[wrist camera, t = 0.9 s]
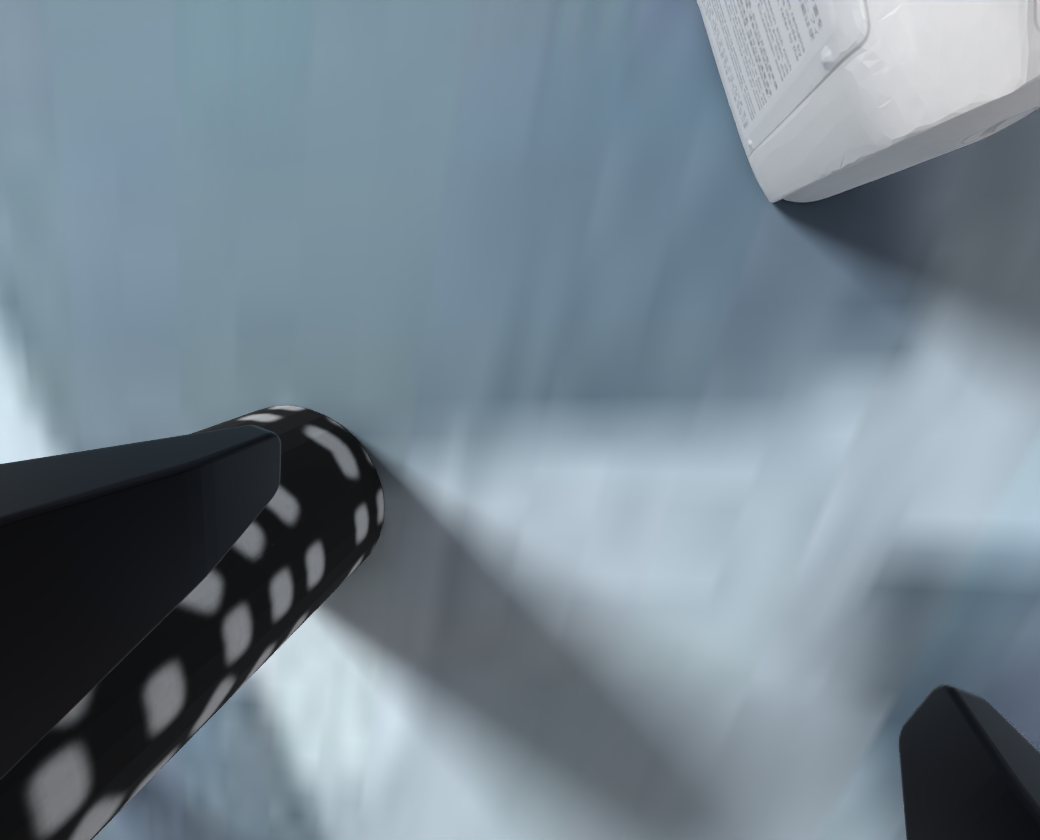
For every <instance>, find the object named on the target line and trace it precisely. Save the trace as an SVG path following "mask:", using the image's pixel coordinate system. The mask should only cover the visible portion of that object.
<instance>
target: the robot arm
mask: <svg viewBox="0 0 1040 840" xmlns="http://www.w3.org/2000/svg"><path fill="white" fill-rule="evenodd" d="M280 470H281V441H280V438H279V436H278V435H277V434H276V433H274V432H272V431H269V430H266V429H264V428H261V427H258V426H255V425H246V426H239V427H233V428H227V429H220V430H214V431H208V432H201V433H195V434H189V435H182V436H176V437H170V438H163V439H157V440H151V441H144V442H138V443H132V444H125V445H119V446H113V447H106V448H100V449H94V450H87V451H81V452H75V453H68V454H62V455H56V456H49V457H43V458H37V459H30V460H24V461H18V462H11V463H5V464H0V780H1V779H2V778H3V777H4V776H5V775H6V774H7V773H8V772H9V771H10V770H11V769H12V768H13V767H14V766H15V765H16V764H17V763H18V762H19V761H20V760H21V759H22V758H23V757H24V756H25V755H26V754H27V753H28V752H29V751H30V750H31V749H32V748H33V747H34V746H35V745H36V744H37V743H38V742H39V741H40V740H41V739H42V738H43V737H44V736H45V735H46V734H47V733H49V732H50V731H51V730H52V729H53V728H54V727H55V726H56V725H57V724H58V723H59V722H60V721H61V720H62V719H63V718H64V717H65V716H66V715H67V714H68V713H69V712H70V711H71V710H72V709H73V708H74V707H75V706H76V705H77V704H78V703H79V702H80V701H81V700H82V699H83V698H84V697H85V696H86V695H87V694H88V693H89V692H90V691H91V690H92V689H93V688H94V687H95V686H96V685H97V684H98V683H99V682H100V681H101V680H102V679H103V678H104V677H105V676H106V675H107V674H109V673H110V672H111V671H112V670H113V669H114V668H115V667H116V666H117V665H118V664H119V663H120V662H121V661H122V660H123V659H124V658H125V657H126V656H127V655H128V654H129V653H130V652H131V651H132V650H133V649H134V648H135V647H136V646H137V645H138V644H139V643H140V642H141V641H142V640H143V639H144V638H145V637H146V636H147V635H148V634H149V633H150V632H151V631H152V630H153V629H154V628H155V627H156V626H157V625H158V624H159V623H160V622H161V621H162V620H163V619H164V618H165V617H166V616H168V615H169V614H170V613H171V612H172V611H173V610H174V609H175V608H176V607H177V606H178V605H179V604H180V603H181V602H182V601H183V600H184V599H185V598H186V597H187V596H188V595H189V594H190V593H191V592H192V591H193V590H194V589H195V588H196V587H197V586H198V585H199V584H200V583H201V582H202V581H203V580H204V579H205V578H206V577H207V575H208V574H209V573H210V572H211V571H212V570H213V569H214V568H215V566H216V565H217V564H218V563H219V562H220V561H221V559H222V558H223V557H224V556H225V555H226V553H227V552H228V551H229V550H230V549H231V547H232V546H233V545H234V544H235V543H236V541H237V540H238V539H239V538H240V537H241V535H242V534H243V533H244V532H245V531H246V529H247V528H248V527H249V526H250V525H251V523H252V522H253V521H254V520H255V519H256V517H257V516H258V515H259V514H260V513H261V511H262V510H263V509H264V508H265V507H266V505H267V504H268V503H269V502H270V501H271V499H272V498H273V497H274V495H275V494H276V492H277V490H278V487H279V484H280ZM899 753H900V765H901V777H902V789H903V801H904V813H905V825H906V837H907V840H1040V753H1039V752H1038V751H1037V750H1036V749H1035V748H1034V747H1033V746H1032V745H1031V744H1030V743H1029V742H1028V741H1027V740H1026V739H1025V738H1024V737H1023V736H1022V735H1021V734H1020V733H1019V732H1018V731H1017V730H1016V729H1015V728H1014V727H1013V726H1012V725H1011V724H1010V723H1009V722H1008V721H1007V720H1006V719H1005V718H1004V717H1003V716H1002V715H1001V714H1000V713H999V712H998V711H997V710H996V709H994V708H993V707H992V706H991V705H990V704H989V703H988V702H987V701H986V700H985V699H983V698H982V697H980V696H978V695H975V694H973V693H970V692H967V691H965V690H962V689H959V688H957V687H954V686H951V685H939V686H937V687H935V688H934V689H933V690H932V691H931V692H930V694H929V695H928V696H927V697H926V698H925V699H924V701H923V702H922V703H921V704H920V705H919V707H918V708H917V709H916V710H915V711H914V713H913V714H912V715H911V716H910V717H909V719H908V720H907V721H906V722H905V724H904V725H903V727H902V730H901V733H900V737H899Z"/></svg>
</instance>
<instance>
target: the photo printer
mask: <svg viewBox="0 0 1040 840" xmlns="http://www.w3.org/2000/svg"><path fill="white" fill-rule="evenodd" d="M697 3H698V6H699V8H700V11H701V14H702V18H703V21H704V25H705V28H706V31H707V34H708V37H709V41H710V44H711V47H712V51H713V54H714V57H715V61H716V64H717V67H718V71H719V74H720V77H721V80H722V83H723V86H724V89H725V92H726V95H727V99H728V102H729V106H730V108H731V111H732V114H733V117H734V120H735V123H736V126H737V129H738V132H739V135H740V138H741V141H742V144H743V146H744V149H745V152H746V155H747V157H748V160H749V163H750V165H751V168H752V170H753V172H754V175H755V177H756V179H757V181H758V183H759V185H760V187H761V188H762V190H763V192H764V194H765V195H766V197H767V199H768V200H769V201H770V202H771V203H774V202H777V201H779V200H781V199H784V200H786V201H792V202H813V201H818V200H822V199H825V198H828V197H831V196H834V195H836V194H839V193H842V192H844V191H847V190H850V189H852V188H855V187H858V186H860V185H863V184H866V183H869V182H872V181H874V180H877V179H880V178H882V177H885V176H888V175H890V174H893V173H896V172H899V171H901V170H904V169H906V168H909V167H912V166H914V165H917V164H920V163H922V162H925V161H927V160H930V159H933V158H935V157H938V156H941V155H943V154H946V153H949V152H951V151H954V150H957V149H959V148H962V147H964V146H967V145H970V144H972V143H975V142H977V141H980V140H982V139H984V138H986V137H988V136H990V135H993V134H994V133H996V132H998V131H1000V130H1002V129H1004V128H1006V127H1008V126H1010V125H1012V124H1013V123H1015V122H1017V121H1019V120H1021V119H1022V118H1024V117H1025V116H1027V115H1029V114H1030V113H1032V112H1034V111H1035V110H1037V109H1038V108H1040V0H697Z"/></svg>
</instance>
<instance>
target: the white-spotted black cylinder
mask: <svg viewBox="0 0 1040 840" xmlns="http://www.w3.org/2000/svg"><path fill="white" fill-rule="evenodd" d="M246 425H255V426H258V427H261V428H264V429H266V430H269V431H272V432H274V433H276V434H277V435H278V436H279V438H280V441H281V470H280V484H279V487H278V490H277V492H276V494H275V495H274V497H273V498H272V499H271V501H270V502H269V503H268V504H267V505H266V507H265V508H264V509H263V510H262V511H261V513H260V514H259V515H258V516H257V517H256V519H255V520H254V521H253V522H252V523H251V525H250V526H249V527H248V528H247V529H246V531H245V532H244V533H243V534H242V535H241V537H240V538H239V539H238V540H237V541H236V543H235V544H234V545H233V546H232V547H231V549H230V550H229V551H228V552H227V553H226V555H225V556H224V557H223V558H222V559H221V561H220V562H219V563H218V564H217V565H216V566H215V568H214V569H213V570H212V571H211V572H210V573H209V574H208V575H207V577H206V578H205V579H204V580H203V581H202V582H201V583H200V584H199V585H198V586H197V587H196V588H195V589H194V590H193V591H192V592H191V593H190V594H189V595H188V596H187V597H186V598H185V599H184V600H183V601H182V602H181V603H180V604H179V605H178V606H177V607H176V608H175V609H174V610H173V611H172V612H171V613H170V614H169V615H168V616H166V617H165V618H164V619H163V620H162V621H161V622H160V623H159V624H158V625H157V626H156V627H155V628H154V629H153V630H152V631H151V632H150V633H149V634H148V635H147V636H146V637H145V638H144V639H143V640H142V641H141V642H140V643H139V644H138V645H137V646H136V647H135V648H134V649H133V650H132V651H131V652H130V653H129V654H128V655H127V656H126V657H125V658H124V659H123V660H122V661H121V662H120V663H119V664H118V665H117V666H116V667H115V668H114V669H113V670H112V671H111V672H110V673H109V674H107V675H106V676H105V677H104V678H103V679H102V680H101V681H100V682H99V683H98V684H97V685H96V686H95V687H94V688H93V689H92V690H91V691H90V692H89V693H88V694H87V695H86V696H85V697H84V698H83V699H82V700H81V701H80V702H79V703H78V704H77V705H76V706H75V707H74V708H73V709H72V710H71V711H70V712H69V713H68V714H67V715H66V716H65V717H64V718H63V719H62V720H61V721H60V722H59V723H58V724H57V725H56V726H55V727H54V728H53V729H52V730H51V731H50V732H49V733H47V734H46V735H45V736H44V737H43V738H42V739H41V740H40V741H39V742H38V743H37V744H36V745H35V746H34V747H33V748H32V749H31V750H30V751H29V752H28V753H27V754H26V755H25V756H24V757H23V758H22V759H21V760H20V761H19V762H18V763H17V764H16V765H15V766H14V767H13V768H12V769H11V770H10V771H9V772H8V773H7V774H6V775H5V776H4V777H3V778H2V779H1V780H0V840H92V839H93V838H94V837H95V836H96V835H97V834H98V833H99V832H100V831H101V830H102V829H103V828H104V827H105V826H106V825H107V824H108V823H109V822H110V821H111V819H112V818H113V817H114V816H115V815H116V814H117V813H118V812H119V811H120V810H121V809H122V808H123V807H124V806H125V805H126V804H127V803H128V802H129V801H130V800H131V799H132V798H133V797H134V796H135V795H136V794H137V793H138V792H139V791H140V790H141V789H142V788H143V787H144V786H145V785H146V784H147V783H148V782H149V781H150V779H151V778H152V777H153V776H154V775H155V774H156V773H157V772H158V771H159V770H160V769H161V768H162V767H163V766H164V765H165V764H166V763H167V762H168V761H169V760H170V759H171V758H172V757H173V756H174V755H175V754H176V753H177V752H178V751H179V750H180V749H181V748H182V747H183V746H184V745H185V744H186V743H187V742H188V741H189V739H190V738H191V737H192V736H193V735H194V734H195V733H196V732H197V731H198V730H199V729H200V728H201V727H202V726H203V725H204V724H205V723H206V722H207V721H208V720H209V719H210V718H211V717H212V716H213V715H214V714H215V713H216V712H217V711H218V710H219V709H220V708H221V707H222V706H223V705H224V704H225V703H226V702H227V701H228V699H229V698H230V697H231V696H232V695H233V694H234V693H235V692H236V691H237V690H238V689H239V688H240V687H241V686H242V685H243V684H244V683H245V682H246V681H247V680H248V679H249V678H250V677H251V676H252V675H253V674H254V673H255V672H256V671H257V670H258V669H259V668H260V667H261V666H262V665H263V664H264V663H265V662H266V661H267V659H268V658H269V657H270V656H271V655H272V654H273V653H274V652H275V651H276V650H277V649H278V648H279V647H280V646H281V645H282V644H283V643H284V642H285V641H286V640H287V639H288V638H289V637H290V636H291V635H292V634H293V633H294V632H295V631H296V630H297V629H298V628H299V627H300V626H301V625H302V624H303V623H304V622H305V621H306V619H307V618H308V617H309V616H310V615H311V614H312V613H313V612H314V611H315V610H316V609H317V608H318V607H319V606H320V605H321V604H322V603H323V602H324V601H325V600H326V599H327V598H328V597H329V596H330V595H331V594H332V593H333V592H334V591H335V590H336V589H337V588H338V587H339V586H340V585H341V584H342V583H343V582H344V581H345V579H346V578H347V577H348V576H349V575H350V574H351V573H352V572H353V571H354V570H355V569H356V568H357V567H358V566H359V565H360V564H361V563H362V562H363V561H364V560H365V558H366V557H367V556H368V555H369V554H370V553H371V552H372V550H373V548H374V546H375V544H376V542H377V540H378V538H379V536H380V532H381V528H382V524H383V517H384V500H383V493H382V486H381V483H380V480H379V478H378V475H377V472H376V469H375V467H374V465H373V463H372V462H371V460H370V458H369V456H368V454H367V453H366V451H365V450H364V449H363V448H362V446H361V445H360V444H359V442H358V441H357V440H356V439H355V438H354V437H353V436H352V435H351V434H350V433H349V432H348V431H347V430H345V429H344V428H343V427H342V426H341V425H340V424H338V423H336V422H335V421H333V420H331V419H330V418H328V417H327V416H325V415H323V414H320V413H317V412H315V411H312V410H310V409H307V408H301V407H295V406H273V407H269V408H265V409H261V410H258V411H255V412H252V413H249V414H246V415H243V416H241V417H238V418H235V419H232V420H229V421H226V422H223V423H221V424H218V425H215V426H212V427H209V428H206V429H203V430H201V431H198V432H195V433H201V432H208V431H214V430H220V429H227V428H233V427H239V426H246ZM195 433H192V434H195Z"/></svg>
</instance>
